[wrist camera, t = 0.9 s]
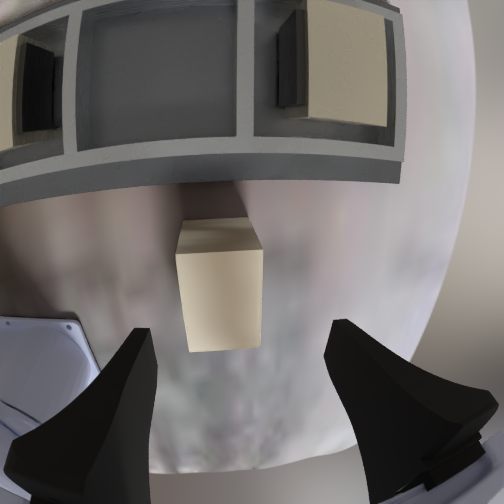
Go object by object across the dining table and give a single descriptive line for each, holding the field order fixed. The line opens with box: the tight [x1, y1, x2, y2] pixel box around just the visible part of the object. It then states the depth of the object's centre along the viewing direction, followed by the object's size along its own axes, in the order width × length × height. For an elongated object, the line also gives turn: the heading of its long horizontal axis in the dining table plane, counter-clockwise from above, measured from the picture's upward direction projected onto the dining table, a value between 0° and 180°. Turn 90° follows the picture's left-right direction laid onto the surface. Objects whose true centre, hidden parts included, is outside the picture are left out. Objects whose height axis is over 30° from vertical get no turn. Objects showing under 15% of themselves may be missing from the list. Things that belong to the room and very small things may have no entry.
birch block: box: [175, 217, 263, 352], centre depth 17 cm, size 4×6×5 cm, turn 179°
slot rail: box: [0, 0, 407, 207], centre depth 11 cm, size 30×13×5 cm, turn 89°
